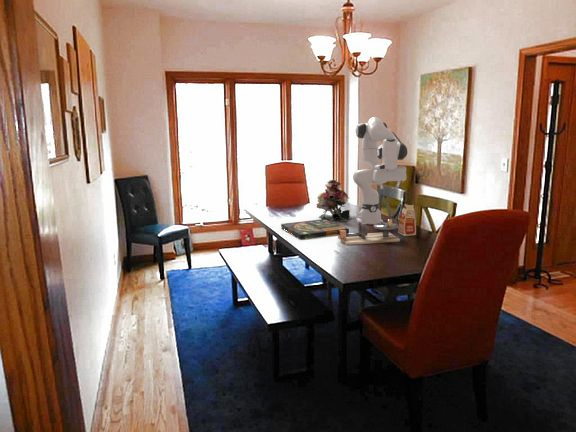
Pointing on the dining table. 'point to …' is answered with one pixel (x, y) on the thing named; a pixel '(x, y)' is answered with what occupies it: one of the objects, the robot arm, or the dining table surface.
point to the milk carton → (407, 221)
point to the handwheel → (386, 225)
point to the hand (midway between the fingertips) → (389, 188)
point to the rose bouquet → (333, 202)
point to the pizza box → (313, 228)
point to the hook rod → (348, 234)
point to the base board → (370, 237)
